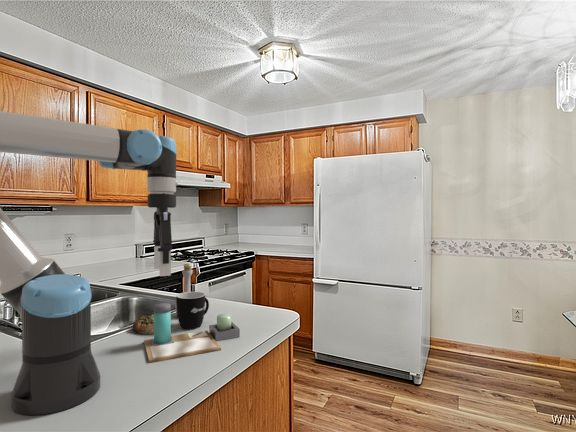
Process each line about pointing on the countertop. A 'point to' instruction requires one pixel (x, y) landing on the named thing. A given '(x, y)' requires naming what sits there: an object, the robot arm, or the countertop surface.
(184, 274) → the potion bottle
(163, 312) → the teal cylinder
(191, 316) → the mug
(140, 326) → the bread roll
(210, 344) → the tan flat tray
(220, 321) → the button
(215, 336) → the button housing
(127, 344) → the countertop surface
